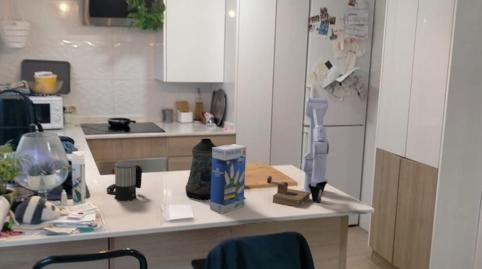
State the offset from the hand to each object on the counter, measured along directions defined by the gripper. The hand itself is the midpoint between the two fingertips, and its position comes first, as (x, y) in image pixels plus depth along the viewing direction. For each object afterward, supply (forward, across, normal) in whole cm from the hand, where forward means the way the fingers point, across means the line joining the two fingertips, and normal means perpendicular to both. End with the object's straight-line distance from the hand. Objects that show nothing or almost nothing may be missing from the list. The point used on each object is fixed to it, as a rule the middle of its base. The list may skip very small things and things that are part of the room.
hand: (316, 198), depth 213 cm
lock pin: (-5, -5, +18) cm, 19 cm away
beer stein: (+2, -19, +47) cm, 51 cm away
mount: (+1, -5, +10) cm, 11 cm away
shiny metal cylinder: (+1, 0, 0) cm, 1 cm away
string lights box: (+2, -30, +29) cm, 42 cm away
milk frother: (+2, -41, +75) cm, 86 cm away
